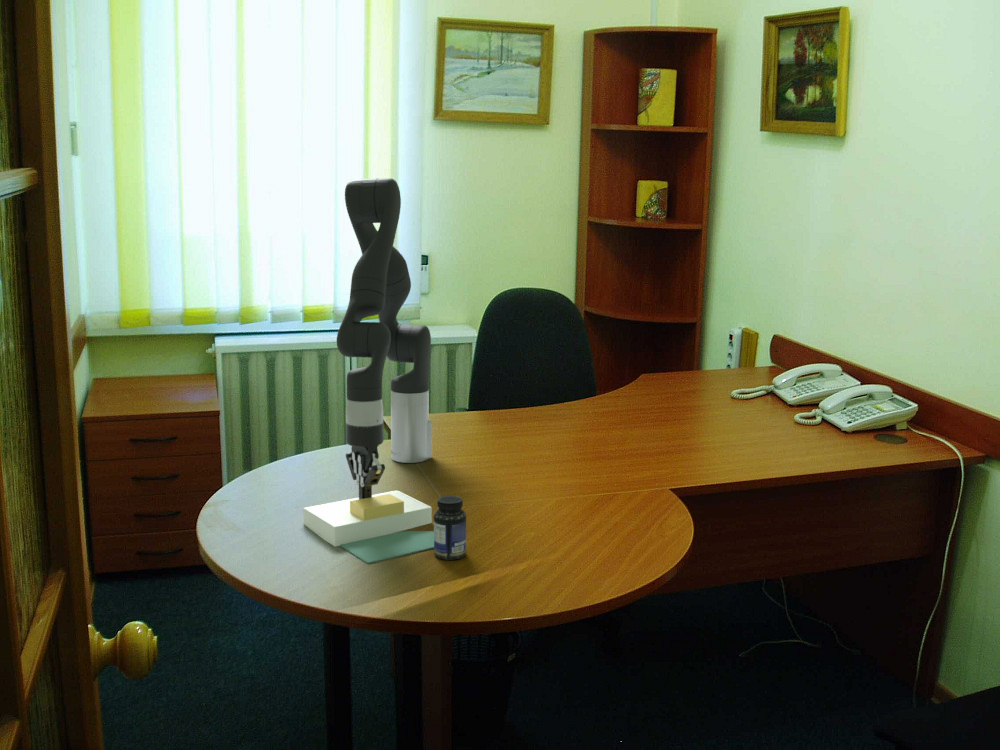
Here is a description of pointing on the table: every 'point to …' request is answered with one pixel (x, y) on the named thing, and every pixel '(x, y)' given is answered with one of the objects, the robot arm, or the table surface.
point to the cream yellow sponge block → (376, 507)
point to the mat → (391, 545)
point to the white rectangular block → (346, 528)
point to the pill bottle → (450, 529)
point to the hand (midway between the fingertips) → (365, 502)
